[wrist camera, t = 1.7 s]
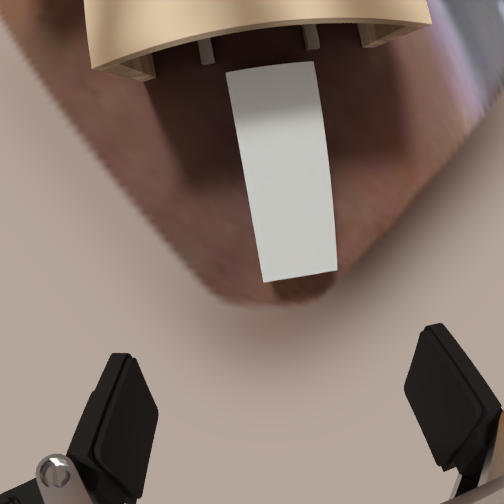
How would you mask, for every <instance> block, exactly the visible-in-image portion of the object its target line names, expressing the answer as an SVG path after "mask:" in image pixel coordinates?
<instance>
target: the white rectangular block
mask: <svg viewBox="0 0 504 504" xmlns="http://www.w3.org/2000/svg"><path fill="white" fill-rule="evenodd" d="M225 73H226V78H227V84H228V89H229V94H230V100H231V105H232V111H233V116H234V121H235V127H236V132H237V138H238V143H239V149H240V154H241V160H242V165H243V171H244V176H245V182H246V187H247V193H248V198H249V204H250V209H251V215H252V220H253V226H254V231H255V237H256V243H257V248H258V254H259V259H260V265H261V271H262V276H263V282H270V281H276V280H282V279H288V278H294V277H300V276H306V275H312V274H318V273H324V272H330V271H335V270H337V253H336V237H335V223H334V211H333V200H332V189H331V179H330V170H329V161H328V153H327V145H326V137H325V130H324V123H323V116H322V109H321V103H320V96H319V90H318V84H317V79H316V73H315V67H314V62H313V61H309V62H297V63H287V64H278V65H270V66H262V67H255V68H249V69H243V70H237V71H231V72H225Z"/></svg>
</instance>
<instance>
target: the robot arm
mask: <svg viewBox="0 0 504 504" xmlns="http://www.w3.org/2000/svg"><path fill="white" fill-rule="evenodd" d="M404 391H405V395H406V397H407V399H408V401H409V403H410V405H411V408H412V410H413V412H414V414H415V416H416V418H417V420H418V423H419V425H420V427H421V429H422V432H423V434H424V436H425V438H426V441H427V443H428V445H429V448H430V450H431V452H432V455H433V457H434V459H435V462H436V464H437V465H438V466H441V467H442V469H443V471H444V472H445V471H447V470H450V469H452V468H454V467H457V469H458V471H459V474H458V476H457V479H456V482H455V485H454V488H453V490H452V493H451V496H450V498H449V500H448V501H446V502H444V503H441V504H504V410H502V409H501V404H500V402H499V401H498V399H497V398H496V396H495V395H494V394H493V392H492V390H491V389H490V387H489V386H488V384H487V383H486V381H485V380H484V378H483V377H482V376H481V375H480V373H479V371H478V370H477V369H476V367H475V366H474V364H473V363H472V362H471V360H470V359H469V357H468V356H467V355H466V353H465V352H464V351H463V349H462V348H461V347H460V345H459V344H458V343H457V341H456V340H455V339H454V337H453V336H452V335H451V334H450V332H449V331H448V330H447V328H446V327H445V326H444V325H443V324H442V323H438V324H433V325H429V326H426V327H425V328H424V331H422V332H421V333H420V336H419V339H418V343H417V346H416V350H415V354H414V356H413V360H412V363H411V366H410V370H409V372H408V375H407V379H406V381H405V385H404ZM157 421H158V409H157V406H156V404H155V402H154V400H153V397H152V395H151V393H150V391H149V388H148V386H147V384H146V381H145V379H144V377H143V374H142V372H141V369H140V367H139V364H138V362H137V360H136V359H135V358H132V356H131V355H130V354H128V353H112V355H111V356H110V358H109V360H108V362H107V364H106V367H105V369H104V371H103V373H102V375H101V378H100V380H99V382H98V384H97V387H96V389H95V390H94V391H93V392H92V393H91V395H90V397H89V400H88V402H87V404H86V407H85V409H84V411H83V414H82V416H81V419H80V421H79V423H78V426H77V428H76V431H75V433H74V436H73V438H72V441H71V443H70V446H69V449H68V451H67V454H66V456H65V455H62V454H52V455H49V456H46V457H45V458H43V459H42V460H41V461H40V462H39V464H38V466H37V468H36V478H34V479H32V480H30V481H28V482H26V483H24V484H22V485H19V486H17V487H15V488H13V489H11V490H8V491H6V492H4V493H2V494H0V504H124V503H126V504H136V501H137V499H139V498H141V497H142V493H143V488H144V482H145V478H146V473H147V468H148V463H149V458H150V453H151V448H152V443H153V439H154V434H155V430H156V425H157Z"/></svg>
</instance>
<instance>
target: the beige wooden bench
mask: <svg viewBox="0 0 504 504" xmlns="http://www.w3.org/2000/svg"><path fill="white" fill-rule="evenodd" d="M84 9H85V19H86V29H87V37H88V45H89V52H90V59H91V66H92V69H95V70H100V71H104V72H108V73H112V74H116V75H120V76H124V77H128V78H131V79H135V80H139V81H142V82H144V81H148V80H151V79H154V78H156V73H155V67H154V62H153V56H152V52H156V51H159V50H162V49H166V48H169V47H173V46H177V45H180V44H184V43H188V42H192V41H198V46H199V52H200V57H201V62H202V64H203V66H204V65H209V64H213V63H215V58H214V53H213V48H212V42H211V37H215V36H220V35H225V34H230V33H236V32H242V31H248V30H255V29H262V28H270V27H279V26H290V25H301V29H302V33H303V38H304V42H305V47H306V50H312V49H318V48H320V42H319V38H318V33H317V29H316V24H320V23H357V25H358V29H359V34H360V38H361V43H362V48H375V47H378V46H380V45H382V44H384V43H387V42H389V41H391V40H394V39H396V38H398V37H401V36H403V35H406V34H408V33H411V32H413V31H416V30H418V29H421V28H423V27H426V26H429V25H431V24H432V21H431V17H430V14H429V10H428V6H427V3H426V0H84Z"/></svg>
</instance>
